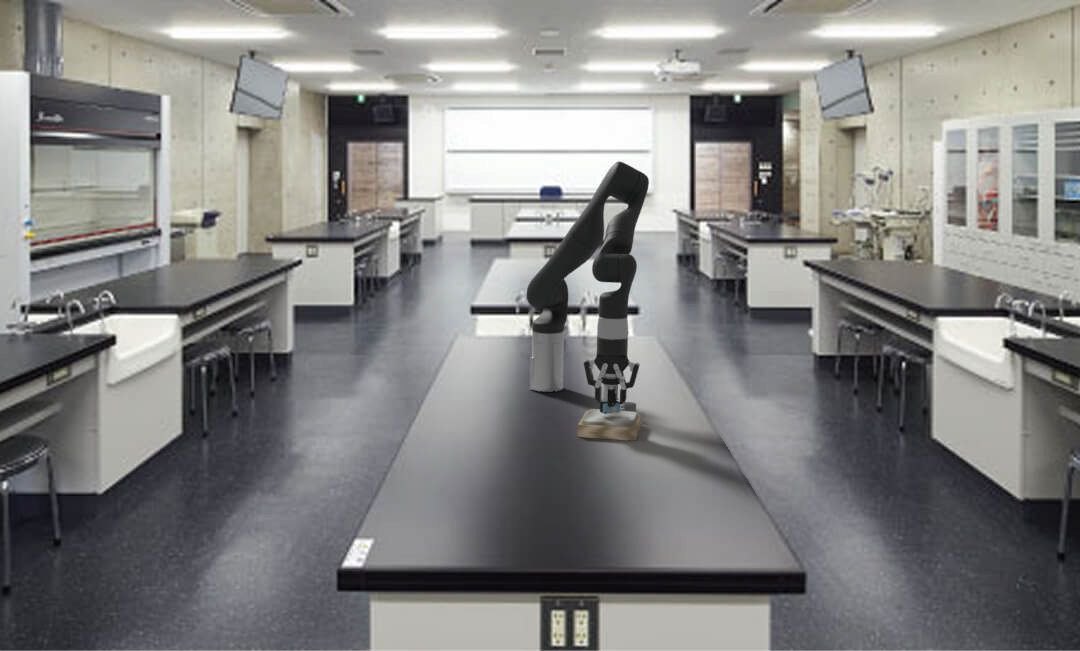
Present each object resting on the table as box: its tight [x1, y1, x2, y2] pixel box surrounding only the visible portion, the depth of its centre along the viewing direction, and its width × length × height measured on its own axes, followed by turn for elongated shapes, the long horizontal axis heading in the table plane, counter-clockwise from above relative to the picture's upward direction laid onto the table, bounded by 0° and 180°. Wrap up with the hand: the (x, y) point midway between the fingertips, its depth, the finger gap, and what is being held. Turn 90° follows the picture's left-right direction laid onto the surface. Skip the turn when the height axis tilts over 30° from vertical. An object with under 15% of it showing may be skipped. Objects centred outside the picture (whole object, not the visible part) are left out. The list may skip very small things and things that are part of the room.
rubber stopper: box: [620, 401, 637, 412], centre depth 250 cm, size 4×4×4 cm
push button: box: [599, 373, 625, 414], centre depth 237 cm, size 7×5×10 cm
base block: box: [576, 408, 642, 441], centre depth 238 cm, size 14×14×4 cm
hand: (610, 402), depth 237 cm, fingers closed on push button, 5 cm apart
